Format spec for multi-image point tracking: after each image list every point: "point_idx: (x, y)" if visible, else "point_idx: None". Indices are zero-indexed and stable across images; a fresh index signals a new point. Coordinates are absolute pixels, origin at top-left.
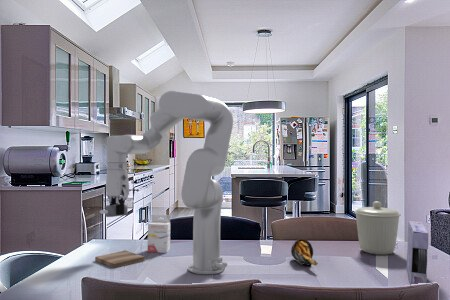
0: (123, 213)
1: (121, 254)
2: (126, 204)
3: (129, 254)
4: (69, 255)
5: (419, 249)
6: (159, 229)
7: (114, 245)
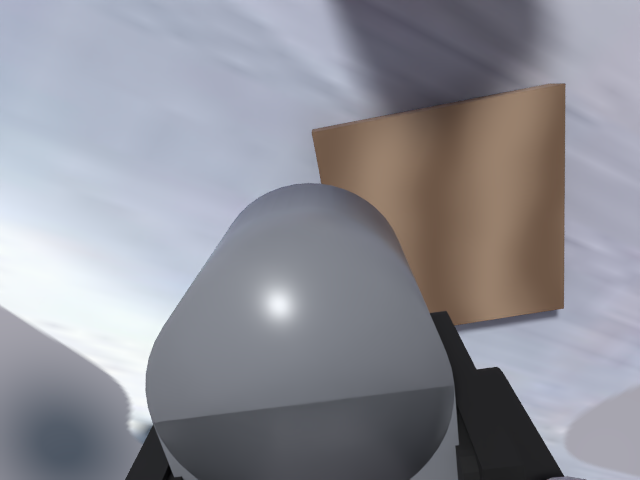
0: (448, 322)
1: (398, 197)
2: (395, 322)
3: (435, 152)
4: None
5: None
6: None
7: (5, 92)
